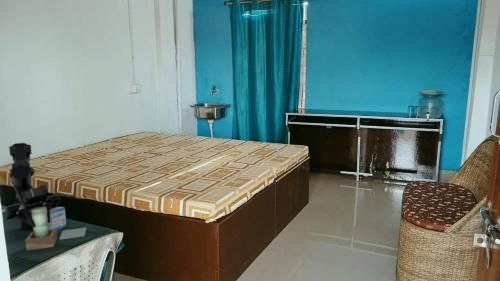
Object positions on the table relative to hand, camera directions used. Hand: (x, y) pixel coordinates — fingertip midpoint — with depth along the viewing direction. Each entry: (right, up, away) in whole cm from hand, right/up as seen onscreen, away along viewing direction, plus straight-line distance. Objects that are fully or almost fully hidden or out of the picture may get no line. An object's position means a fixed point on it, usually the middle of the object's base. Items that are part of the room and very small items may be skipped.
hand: (42, 224), depth 138 cm
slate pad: (+6, -7, +12) cm, 15 cm away
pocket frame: (-1, -8, +2) cm, 8 cm away
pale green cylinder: (-1, -7, +2) cm, 7 cm away
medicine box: (-5, -6, +18) cm, 20 cm away
